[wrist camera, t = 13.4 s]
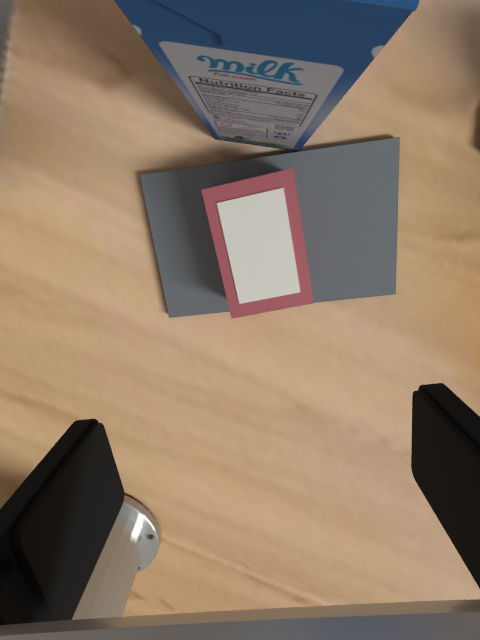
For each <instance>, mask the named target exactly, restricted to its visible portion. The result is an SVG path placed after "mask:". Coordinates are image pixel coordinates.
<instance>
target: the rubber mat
mask: <svg viewBox="0 0 480 640" xmlns="http://www.w3.org/2000/svg"><path fill="white" fill-rule="evenodd" d="M399 144H400V137H396V138H389V139H383V140H376V141H369V142H362V143H355V144H348V145H341V146H334V147H328V148H321V149H314V150H307V151H300V152H293V153H286V154H279V155H273V156H266V157H259V158H252V159H245V160H238V161H231V162H224V163H218V164H211V165H204V166H197V167H190V168H183V169H176V170H169V171H163V172H156V173H149V174H142V175H140V179H141V184H142V189H143V193H144V198H145V203H146V208H147V213H148V218H149V222H150V227H151V232H152V237H153V242H154V247H155V251H156V256H157V261H158V266H159V271H160V276H161V281H162V285H163V290H164V295H165V300H166V305H167V310H168V314H169V318H171V317H181V316H190V315H200V314H210V313H219V312H229V311H230V309H229V305H228V301H227V297H226V292H225V288H224V284H223V280H222V276H221V271H220V267H219V263H218V259H217V254H216V250H215V246H214V242H213V237H212V233H211V229H210V225H209V221H208V216H207V212H206V208H205V204H204V199H203V195H202V191H201V190H203V189H207V188H211V187H215V186H220V185H224V184H228V183H232V182H237V181H241V180H245V179H249V178H253V177H258V176H262V175H266V174H270V173H275V172H279V171H283V170H287V169H291V168H293V169H294V175H295V182H296V189H297V195H298V202H299V209H300V215H301V222H302V229H303V235H304V242H305V248H306V255H307V262H308V268H309V275H310V282H311V288H312V295H313V302H314V303H315V302H325V301H334V300H344V299H354V298H363V297H373V296H382V295H392V294H396V257H397V219H398V182H399Z"/></svg>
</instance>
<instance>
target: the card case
mask: <svg viewBox="0 0 480 640" xmlns="http://www.w3.org/2000/svg"><path fill="white" fill-rule="evenodd" d="M201 191H202V195H203V199H204V204H205V208H206V212H207V216H208V221H209V225H210V229H211V233H212V237H213V242H214V246H215V250H216V254H217V259H218V263H219V267H220V271H221V276H222V280H223V284H224V288H225V292H226V297H227V301H228V305H229V309H230V314H231V318H237V317H242V316H247V315H253V314H258V313H263V312H269V311H274V310H280V309H285V308H290V307H296V306H301V305H306V304H312V303H314V302H313V295H312V288H311V282H310V275H309V268H308V262H307V255H306V248H305V242H304V235H303V229H302V222H301V215H300V209H299V202H298V195H297V189H296V182H295V175H294V169H293V168H291V169H287V170H283V171H279V172H275V173H270V174H266V175H262V176H258V177H253V178H249V179H245V180H241V181H237V182H232V183H228V184H224V185H220V186H215V187H211V188H207V189H203V190H201Z"/></svg>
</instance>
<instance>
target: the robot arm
mask: <svg viewBox="0 0 480 640" xmlns="http://www.w3.org/2000/svg"><path fill="white" fill-rule="evenodd" d="M411 467H412V473H413V476H414V479H415V481H416V482H417V484H418V486H419V487H420V489H421V491H422V492H423V494H424V496H425V497H426V499H427V501H428V502H429V504H430V506H431V508H432V509H433V511H434V513H435V514H436V516H437V518H438V519H439V521H440V523H441V524H442V526H443V528H444V529H445V531H446V533H447V534H448V536H449V538H450V539H451V541H452V543H453V544H454V546H455V548H456V549H457V551H458V553H459V554H460V556H461V558H462V559H463V561H464V563H465V565H466V566H467V568H468V570H469V571H470V573H471V575H472V576H473V578H474V580H475V581H476V583H477V585H478V586H479V588H480V417H479V416H478V415H477V414H476V413H475V412H474V411H473V410H472V409H471V408H469V407H468V406H467V405H466V404H465V403H464V402H463V401H462V400H461V399H460V398H459V397H457V396H456V395H455V394H454V393H453V392H452V391H451V390H450V389H449V388H448V387H447V386H445V385H444V384H443V383H437V384H428V385H421V386H419V389H418V391H414V392H413V402H412V460H411ZM160 537H161V535H160V530H159V526H158V524H157V522H156V520H155V518H154V517H153V516H152V514H151V513H150V512H149V511H148V510H147V509H146V508H145V507H144V506H143V505H142V504H140V503H139V502H137V501H136V500H134V499H132V498H130V497H128V496H126V495H124V489H123V486H122V483H121V479H120V476H119V473H118V470H117V467H116V463H115V460H114V457H113V454H112V450H111V447H110V444H109V441H108V438H107V434H106V431H105V428H104V425H103V424H102V423H99V422H98V421H97V420H96V419H87V420H78V421H75V422H74V423H73V424H72V425H71V426H70V427H69V428H68V430H67V431H66V432H65V433H64V434H63V436H62V437H61V438H60V439H59V440H58V442H57V443H56V444H55V445H54V446H53V447H52V449H51V450H50V451H49V452H48V453H47V455H46V456H45V457H44V458H43V459H42V460H41V462H40V463H39V464H38V465H37V466H36V468H35V469H34V470H33V471H32V472H31V473H30V475H29V476H28V477H27V478H26V479H25V481H24V482H23V483H22V484H21V485H20V487H19V488H18V489H17V490H16V491H15V492H14V494H13V495H12V496H11V497H10V498H9V500H8V501H7V502H6V503H5V504H4V505H3V507H2V508H1V509H0V640H480V600H444V601H417V602H396V603H375V604H353V605H332V606H311V607H291V608H272V609H253V610H234V611H216V612H197V613H179V614H161V615H145V616H128V617H122V615H123V612H124V609H125V606H126V603H127V600H128V597H129V594H130V591H131V588H132V585H133V582H134V579H135V576H136V573H137V572H139V571H141V570H143V569H145V568H146V567H147V566H149V565H150V564H151V562H152V561H153V560H154V559H155V557H156V555H157V552H158V549H159V545H160Z"/></svg>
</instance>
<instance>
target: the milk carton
mask: <svg viewBox="0 0 480 640" xmlns="http://www.w3.org/2000/svg"><path fill="white" fill-rule="evenodd" d="M114 1H115V2H116V3H117V5H118V6H119V7H120V9H121V10H122V12H123V13H124V14H125V16H126V17H127V18H128V20H129V21H130V23H131V24H132V25H133V27H134V28H135V29H136V31H137V32H138V33H139V35H140V36H141V38H142V39H143V40H144V42H145V43H146V44H147V46H148V47H149V49H150V50H151V51H152V53H153V54H154V55H155V57H156V58H157V60H158V61H159V62H160V64H161V65H162V66H163V68H164V69H165V71H166V72H167V73H168V75H169V76H170V77H171V79H172V80H173V82H174V83H175V84H176V86H177V87H178V88H179V90H180V91H181V93H182V94H183V95H184V97H185V98H186V99H187V101H188V102H189V104H190V105H191V106H192V108H193V109H194V110H195V112H196V113H197V115H198V116H199V117H200V119H201V120H202V121H203V123H204V124H205V126H206V127H207V128H208V130H209V131H210V132H211V134H212V135H213V137H214V138H215V139H217V140H224V141H231V142H238V143H245V144H252V145H258V146H265V147H272V148H279V149H286V150H293V151H299V150H300V149H301V148H302V147H303V145H304V144H305V143H306V142H307V141H308V139H309V138H310V137H311V136H312V134H313V133H314V132H315V131H316V129H317V128H318V127H319V126H320V125H321V123H322V122H323V121H324V120H325V118H326V117H327V116H328V115H329V113H330V112H331V111H332V110H333V109H334V107H335V106H336V105H337V104H338V102H339V101H340V100H341V99H342V98H343V96H344V95H345V94H346V93H347V91H348V90H349V89H350V88H351V86H352V85H353V84H354V83H355V82H356V80H357V79H358V78H359V77H360V75H361V74H362V73H363V72H364V70H365V69H366V68H367V67H368V66H369V64H370V63H371V62H372V61H373V59H374V58H375V57H376V56H377V54H378V53H379V52H380V51H381V50H382V48H383V47H384V46H385V45H386V43H387V42H388V41H389V40H390V39H391V37H392V36H393V35H394V34H395V32H396V31H397V30H398V29H399V27H400V26H401V25H402V24H403V23H404V21H405V20H406V19H407V18H408V16H409V15H410V14H411V13H412V11H415V10H416V9H417V6H418V4H419V0H114Z"/></svg>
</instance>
